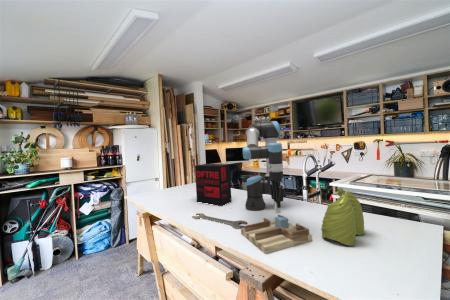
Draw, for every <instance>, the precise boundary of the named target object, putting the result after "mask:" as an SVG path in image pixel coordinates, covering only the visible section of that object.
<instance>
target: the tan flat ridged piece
mask: <svg viewBox="0 0 450 300" xmlns="http://www.w3.org/2000/svg"><path fill="white" fill-rule="evenodd" d="M279 216H282V215H281V214H277V217H279ZM262 219H263V221H260V222H256V223H251V224H245V225H244V226H245V228H241V229H240V234H241V235H242V236H243V237H245V239H247V240H248V241H249V242H250V243H252V244H253V245H254V246H255V247H256V248H258V249H259V250H260V251H261V252H263V253H264V254H270V253H273V252H277V251H280V250H284V249H287V248H290V247H293V246H299V245H301V244H304V243H307V242H312V241H313V234H312V233H310V228H308V227H305V226H304V225H301V224H300V223H295V225H294V224H292V223H290V222H288V225H289V228H286V229H284V228H282V227H280V228H277V227H275V220H273V221H271V220H270V219H268V218H266V217H264V218H262Z"/></svg>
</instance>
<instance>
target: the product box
mask: <svg viewBox="0 0 450 300" xmlns="http://www.w3.org/2000/svg"><path fill="white" fill-rule="evenodd" d="M230 167H231V165H230V163H203V164H197V165H196V164H195V165H194V172H195V173H194V174H195V192H196V203H197V202H202V203H201V204H203V203H208V204H207V205H209V204H213V205H212V206H215V205H218V206H217V207H224V206H226V205H228V204H230V203H232V202H231V201H232V187H231V186H232V185H231V168H230ZM229 202H230V203H229ZM227 203H228V204H227ZM225 204H226V205H225ZM223 205H224V206H223Z"/></svg>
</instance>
